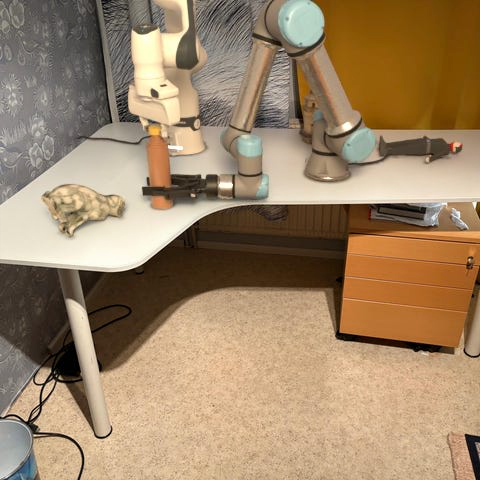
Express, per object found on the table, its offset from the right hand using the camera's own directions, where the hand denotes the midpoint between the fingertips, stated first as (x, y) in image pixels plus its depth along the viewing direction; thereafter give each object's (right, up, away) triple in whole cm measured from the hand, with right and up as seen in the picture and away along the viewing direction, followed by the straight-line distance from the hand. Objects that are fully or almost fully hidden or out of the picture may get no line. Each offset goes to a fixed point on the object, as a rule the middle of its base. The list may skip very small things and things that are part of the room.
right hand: (144, 186), depth 166 cm
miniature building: (+61, +24, +54) cm, 85 cm away
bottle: (+5, -6, +3) cm, 8 cm away
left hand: (+5, +15, -8) cm, 17 cm away
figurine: (-15, -13, -9) cm, 22 cm away
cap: (+5, +16, -9) cm, 19 cm away
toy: (+98, +16, +38) cm, 106 cm away
